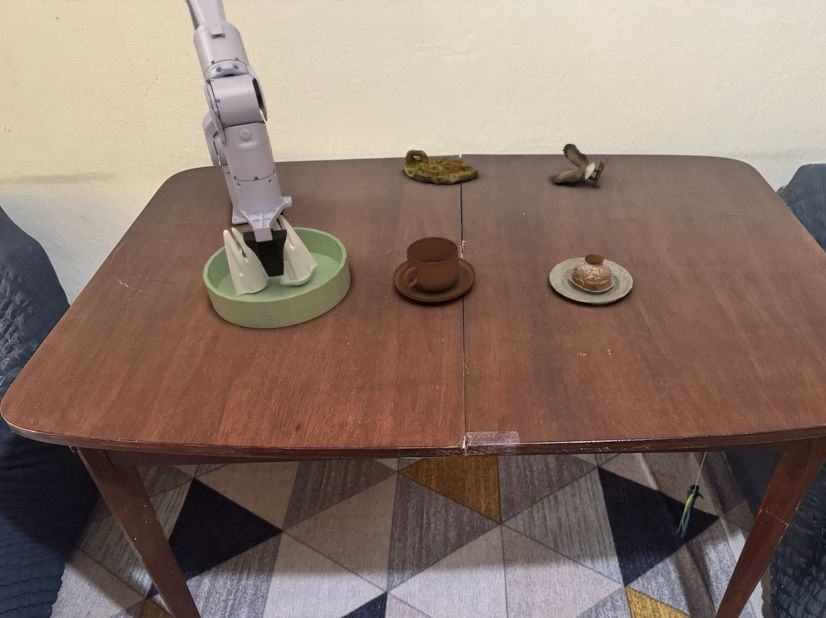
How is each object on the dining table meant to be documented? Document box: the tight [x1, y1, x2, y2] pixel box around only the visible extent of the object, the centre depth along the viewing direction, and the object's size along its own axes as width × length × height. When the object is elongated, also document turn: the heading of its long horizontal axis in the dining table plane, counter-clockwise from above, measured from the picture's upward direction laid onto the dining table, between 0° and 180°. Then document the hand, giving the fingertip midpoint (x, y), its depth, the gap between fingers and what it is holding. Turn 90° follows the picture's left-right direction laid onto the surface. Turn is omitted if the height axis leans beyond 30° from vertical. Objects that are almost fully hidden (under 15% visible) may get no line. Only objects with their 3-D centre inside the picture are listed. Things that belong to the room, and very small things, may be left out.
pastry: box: [548, 253, 634, 306], centre depth 92 cm, size 12×12×5 cm
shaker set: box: [222, 215, 317, 296], centre depth 92 cm, size 12×4×11 cm, turn 99°
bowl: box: [202, 226, 352, 329], centre depth 94 cm, size 20×20×4 cm
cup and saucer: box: [392, 236, 476, 303], centre depth 93 cm, size 12×12×6 cm
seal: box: [403, 149, 479, 185], centre depth 124 cm, size 9×5×15 cm
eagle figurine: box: [551, 143, 610, 188], centre depth 119 cm, size 8×7×9 cm
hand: (275, 261), depth 92 cm, fingers open, 7 cm apart
